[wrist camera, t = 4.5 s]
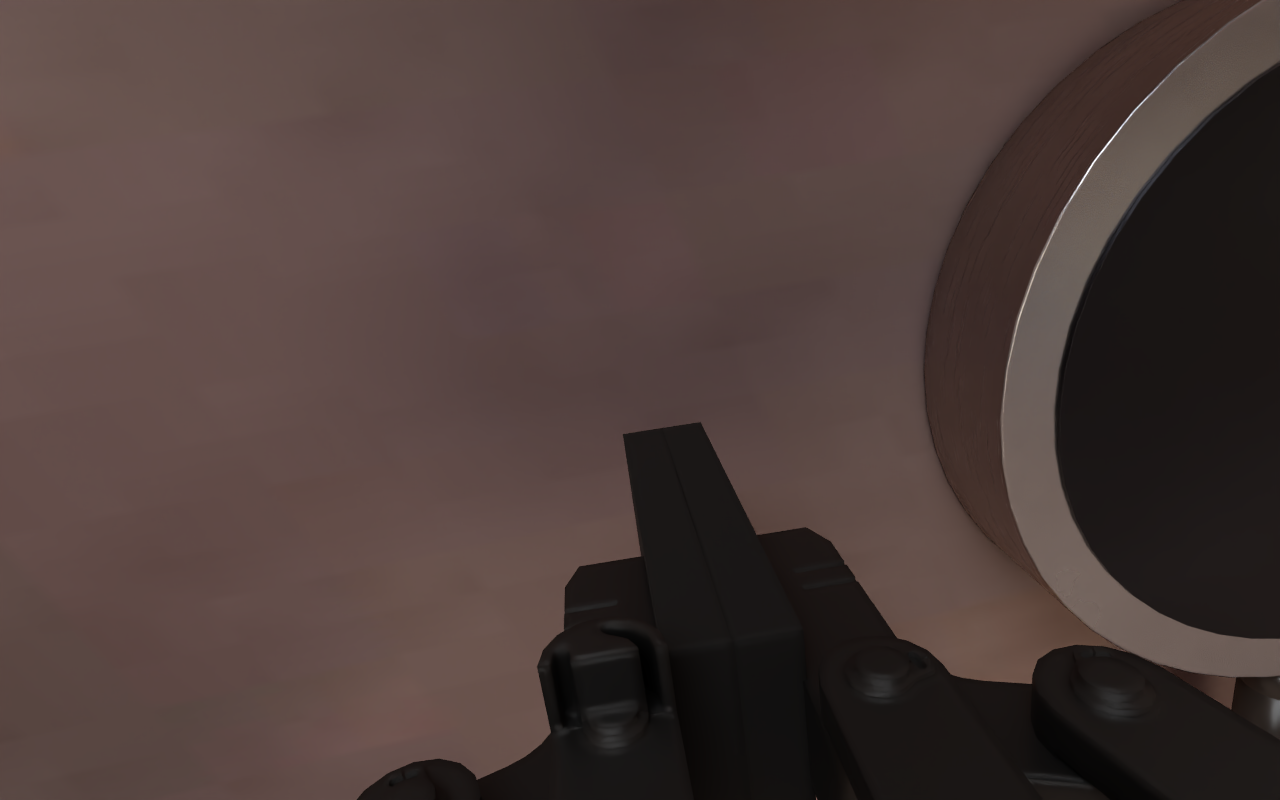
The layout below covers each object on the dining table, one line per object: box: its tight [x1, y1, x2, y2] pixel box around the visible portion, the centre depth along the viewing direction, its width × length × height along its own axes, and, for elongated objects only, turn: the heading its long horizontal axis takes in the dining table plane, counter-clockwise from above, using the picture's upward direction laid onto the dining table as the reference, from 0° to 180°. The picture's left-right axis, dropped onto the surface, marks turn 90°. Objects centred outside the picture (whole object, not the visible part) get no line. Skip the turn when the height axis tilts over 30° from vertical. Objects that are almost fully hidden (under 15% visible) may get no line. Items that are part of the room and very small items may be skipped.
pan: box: [924, 0, 1280, 740], centre depth 18 cm, size 24×16×4 cm, turn 8°
